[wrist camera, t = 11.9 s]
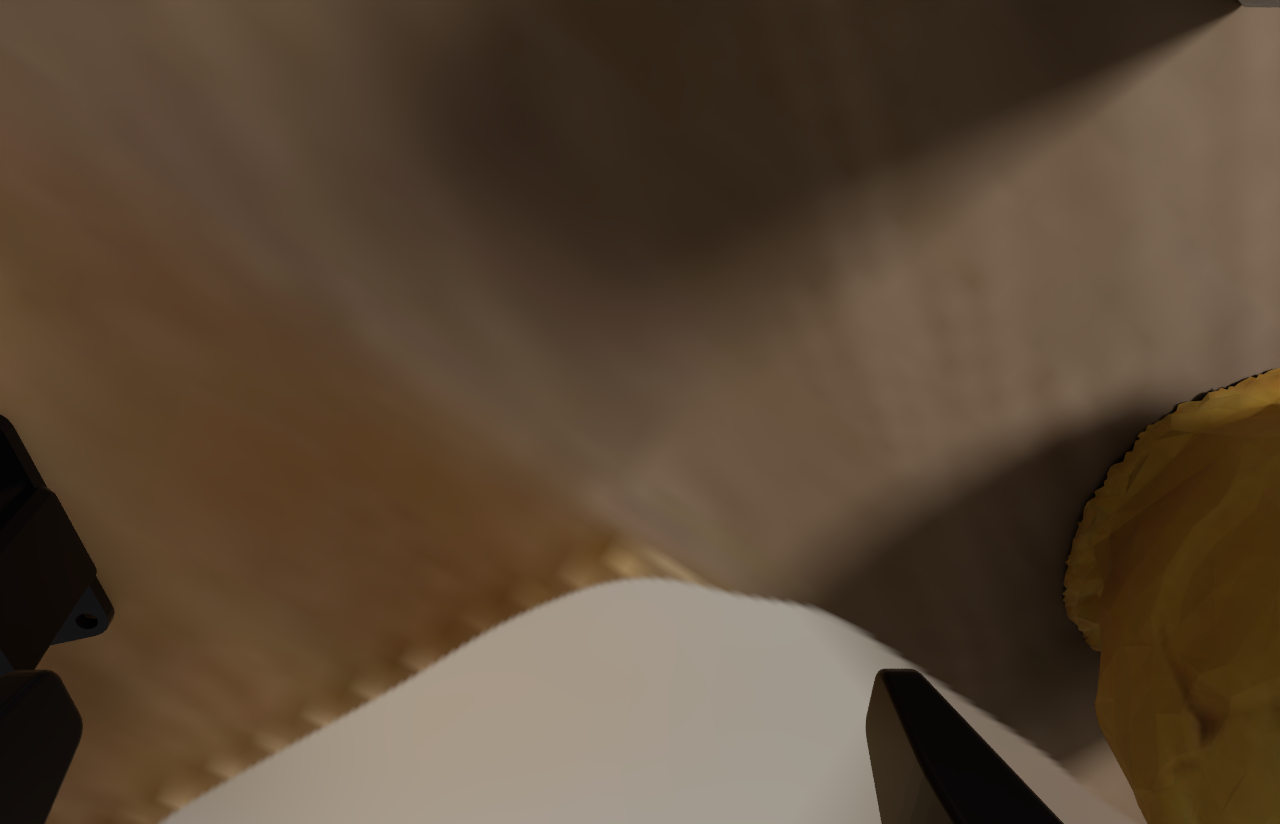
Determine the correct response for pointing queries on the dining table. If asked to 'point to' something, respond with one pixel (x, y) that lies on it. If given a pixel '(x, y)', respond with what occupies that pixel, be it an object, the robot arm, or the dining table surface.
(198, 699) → the dining table surface
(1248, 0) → the coffee box
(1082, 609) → the pitcher
